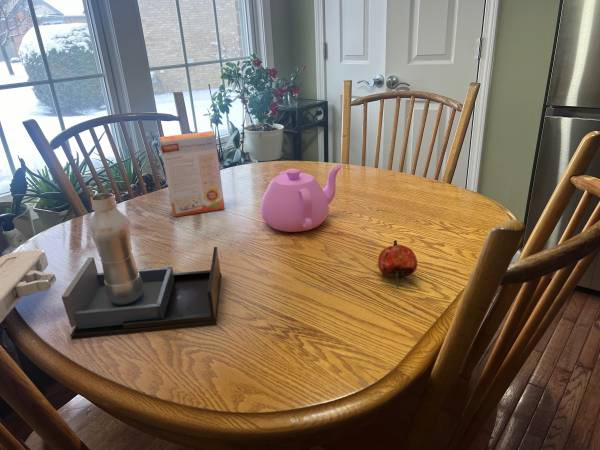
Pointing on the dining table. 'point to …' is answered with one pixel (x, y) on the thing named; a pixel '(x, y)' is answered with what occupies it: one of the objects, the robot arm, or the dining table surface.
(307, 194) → the teapot
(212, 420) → the dining table surface
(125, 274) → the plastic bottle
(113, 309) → the gray sliding drawer
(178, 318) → the base
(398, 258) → the pomegranate
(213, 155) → the cracker box
